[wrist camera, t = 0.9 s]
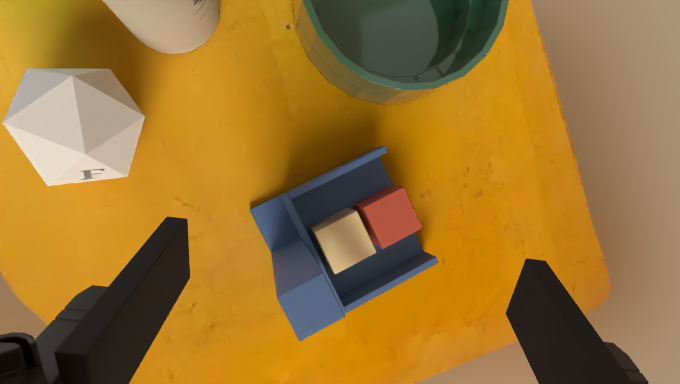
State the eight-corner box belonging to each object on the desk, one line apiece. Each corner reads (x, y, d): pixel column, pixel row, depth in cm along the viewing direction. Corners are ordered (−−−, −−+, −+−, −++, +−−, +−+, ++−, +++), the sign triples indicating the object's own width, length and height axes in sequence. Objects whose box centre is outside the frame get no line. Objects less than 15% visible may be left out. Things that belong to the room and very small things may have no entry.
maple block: (327, 264, 39) (335, 274, 35) (309, 226, 38) (314, 232, 35) (365, 245, 39) (376, 252, 36) (347, 207, 39) (357, 210, 35)
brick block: (371, 242, 40) (383, 249, 36) (353, 204, 39) (363, 207, 35) (407, 222, 40) (423, 227, 36) (390, 185, 40) (404, 186, 36)
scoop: (305, 319, 39) (331, 404, 25) (249, 209, 38) (242, 229, 23) (423, 255, 41) (513, 298, 27) (374, 148, 40) (440, 131, 25)
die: (24, 154, 35) (21, 220, 28) (-3, 44, 31) (-14, 90, 24) (135, 145, 39) (157, 200, 32) (126, 48, 35) (149, 88, 28)
